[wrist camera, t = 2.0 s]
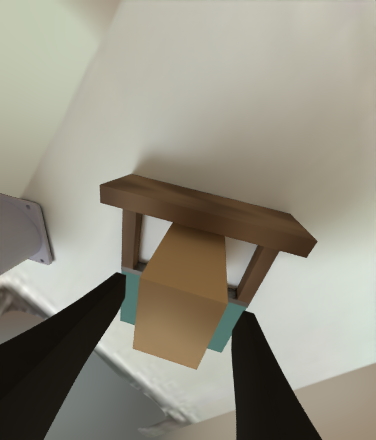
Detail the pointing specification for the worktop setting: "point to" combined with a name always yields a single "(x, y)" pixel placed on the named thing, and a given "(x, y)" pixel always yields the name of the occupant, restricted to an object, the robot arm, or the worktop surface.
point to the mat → (221, 332)
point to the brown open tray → (206, 225)
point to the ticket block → (182, 295)
